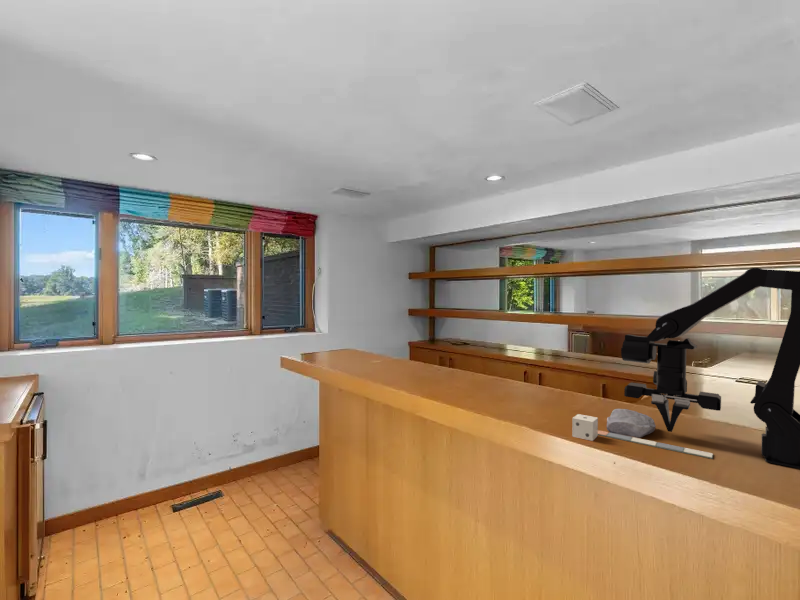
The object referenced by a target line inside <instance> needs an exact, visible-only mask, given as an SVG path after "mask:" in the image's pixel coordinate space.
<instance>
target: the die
mask: <svg viewBox="0 0 800 600" xmlns="http://www.w3.org/2000/svg"><path fill="white" fill-rule="evenodd" d="M571 419H572V421H571V422H572V423H571V424H572V426H571V427H572V430H571V432H572V433H571V434H572V435H571V437H573V438H578V439H582V440H587V441H591V442H593V441H594V440H595V439H596V438H598V436H599V435H598V430H599V417H596V416H591V415H586V414H585V415H584V414H580V413H577V414H576V415H575V416H573V417H572V418H571Z"/></svg>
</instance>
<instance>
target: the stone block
mask: <svg viewBox="0 0 800 600" xmlns="http://www.w3.org/2000/svg"><path fill="white" fill-rule="evenodd" d="M656 427H657V426H656V423H655V421H654V419H653V418H652V417H651V416H649V415H647V414H643V413H641V412H639V411H636V410H631V409H627V408H615V409H613V410H612V412H611V414H610V416H607V418H606V430H607V432H609V433H615V434H620V435H625V436H630V437H635V438H639V439H641V438H643V437H645V436H647V435H650V434H651V433H654V431H655V430H656Z"/></svg>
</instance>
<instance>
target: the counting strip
mask: <svg viewBox="0 0 800 600" xmlns="http://www.w3.org/2000/svg"><path fill="white" fill-rule="evenodd" d="M598 436H602V437H606V438H611V439H617V440H621V441H624V442H625V441H626V442H629V443H634V444H639V445H645V446H649V447H653V448H657V449H665V450H667V451H668V450H669V451H673V452H678V453H683V454H687V455H691V456H695V457H696V456H698V457H701V458H707V459H711V460H714V459H713V458H714V453H712V452H708V451H702V450H698V449H693V448H689V447H688V448H687V447H684V446H683V447H682V446H678V445H672V444H668V443H663V442H658V441H654V440H648V439H642V438H637V437H632V436H628V435H621V434H616V433H610V432H609V431H605V430H599V429H598Z"/></svg>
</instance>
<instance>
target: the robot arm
mask: <svg viewBox="0 0 800 600" xmlns="http://www.w3.org/2000/svg"><path fill="white" fill-rule="evenodd" d="M758 288H768V289H769V288H771V289H778V290H787V291H788V290H789V291H791V294H790V295H791V296H790V298H791V299H790V314H789V317H788V320H787V324H786V327H785V330H784V332H783V337H782V340H781V343H780V347H779V349H778V352H777V356H776V359H775V362H774V365H773V369H772V371H771V372H772V373H771V374H770V377H769V379H768V381H767V382H766V383H765V382H764V381H761V380H759V381H757V382H756V384H755V393H754V396H753V397H752V399H751V401H750V402H749V403H750V404H753V412H754V414H755V416H756V417H757V419H759V420H760V421H761V422H763V423H765V425H766V426H765V433H764V432H763V433H761V446H760V447H761V448H760V449H761V450H760V453H761V456H762V457H763V458H764V460H765V462H767V463H770V464H775V465H780V466H784V467H790V468H794V469H799V470H800V413H799V412H798V411H797V410H795V408H794V406H795V405H794V404H795V388H796V387H795V386H796V380H797V376H798V373H799V370H800V270H799V271H795V270H784V269H783V270H782V269H779V270H778V269H766V268H765V269H763V268H761V267H752V268H749V269H747V270H745V271H744V272H743V273H742V274H741V275H739V276H737V277H736V278H734V279H732V280H730V281H729V282H727V283H725V284H724V285H722V286H721V287H719V288H717V289H715V290H713V291H712V292H710V293H708V294H707V295H705V296H703V297H702V298H700V299H698V300H696V301H695V302H693V303H692V304H689V305H687V306H683V307H681V308H678V309H675V310H673V311H670V312H668V313H665V314H663V315H661V316H659V317H658V318H657V319H656V321H655V325H654V326H655V328H654V329H653V330H651V332H650V333H649V334H647V336H643V335H635V334H630V333H629V334H625V335H624V340H623V343H622V346H621V348H620V356H621V358H622V361H624V362H632V363H640V364H641V363H642V364H650V363H651V362H652V360H653V361H655V360H656V361H657V362H656V364H657V365H656V370H654V371H653V376H652V377H653V378H652V383H653V384H654V385H656V388H649V387H647V384H646V383H640V382H639V383H638V382H630V383H628V384H627V385H626V386H625V387H624V393H623V394H624V395H623V396H624V397H626V398H632V399H640V398H641V397H643V396H647V397H651V401H650V403H651V405H654V406H655V407H656V408H657V410H658V412H659V413H660V415H661V418H662V420H663V422H664V425H665V428H666V430H667V432H668V433H669V432H670V433H673V430H674V428H675V425H676V423H677V420H678V417H679V416H680V414H681V413H682V411H683V410H686V411H687V410H689V409H690V406H691V403H695V404H698V406H699V407H700V408H701V409H705V410H711V411H721V409H722V396H721V395H720V394H719V393H715V392H714V393H713V392H709V391H708V392H706V391H699V393H698V394H692V393H687V392H688V381H687V350H695V349H697V348H698V345H696V344H695V343H694V342H693V341H692V340H691V339H690V337H687V338H685V339H684V340H674V339H677V338H679V337H682V336H684V335H685V334H687V333H688V332H690V331H691V330H692V329H693V328H694V327H696V326H698V325H699V323H700V322H702V320H704V319H705V318H706V317H708V316H710V315H711V314H713V313H715V312H717V311H718V310H720V309H722V308H724V307H725V306H728V305H730V304H731V303H733V302H735V301H736V300H738V299H740V298H742V297H744V296H745V295H747V294H749V293H751V292H753V291H754V290H756V289H758ZM667 339H669V340H668V341H667V342H666V343H659V342H660V341H663V340H667ZM669 400H674V403H673V405H672V409H671V416H670V407H669V403H670V402H669Z"/></svg>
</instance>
